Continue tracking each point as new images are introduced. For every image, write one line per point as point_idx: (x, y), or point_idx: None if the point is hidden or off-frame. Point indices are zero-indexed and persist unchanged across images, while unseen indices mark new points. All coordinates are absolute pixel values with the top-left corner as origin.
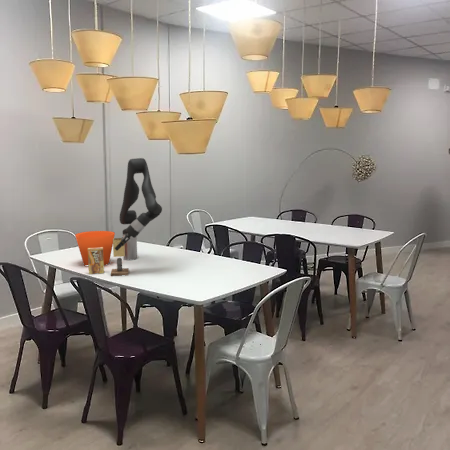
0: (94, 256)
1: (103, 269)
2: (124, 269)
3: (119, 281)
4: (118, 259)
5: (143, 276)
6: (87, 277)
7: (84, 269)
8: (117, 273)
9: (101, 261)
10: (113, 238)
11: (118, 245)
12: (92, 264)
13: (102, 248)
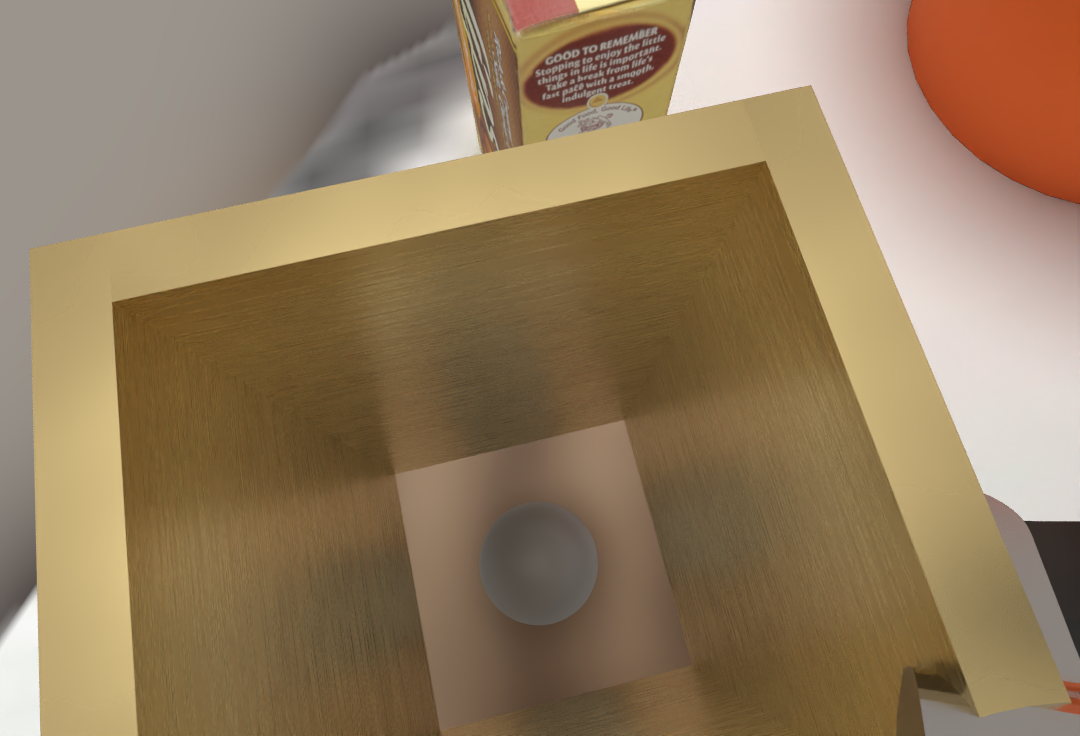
0: (464, 17)
1: None
2: (645, 620)
3: (14, 708)
4: (485, 555)
5: None
6: (306, 175)
7: (733, 12)
8: None
9: None
10: (753, 106)
11: None
12: (473, 94)
13: (522, 23)
